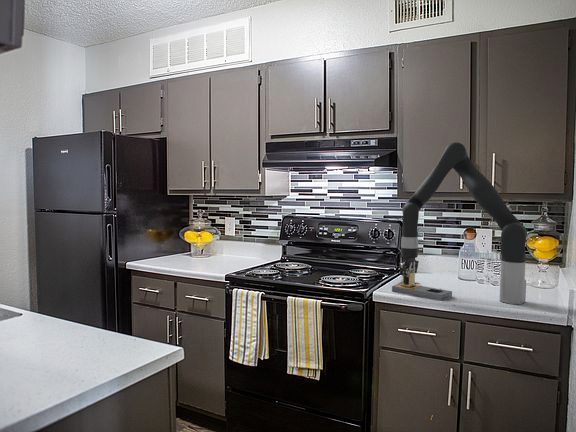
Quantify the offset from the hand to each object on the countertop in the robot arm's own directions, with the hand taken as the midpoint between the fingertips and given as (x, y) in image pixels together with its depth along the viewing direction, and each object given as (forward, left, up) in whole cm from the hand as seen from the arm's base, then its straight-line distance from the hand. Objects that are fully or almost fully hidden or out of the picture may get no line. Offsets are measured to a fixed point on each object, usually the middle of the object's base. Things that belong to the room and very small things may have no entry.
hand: (408, 283), depth 213 cm
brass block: (0, 0, -3) cm, 3 cm away
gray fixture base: (-6, 0, -4) cm, 7 cm away
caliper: (+9, -11, -4) cm, 15 cm away
